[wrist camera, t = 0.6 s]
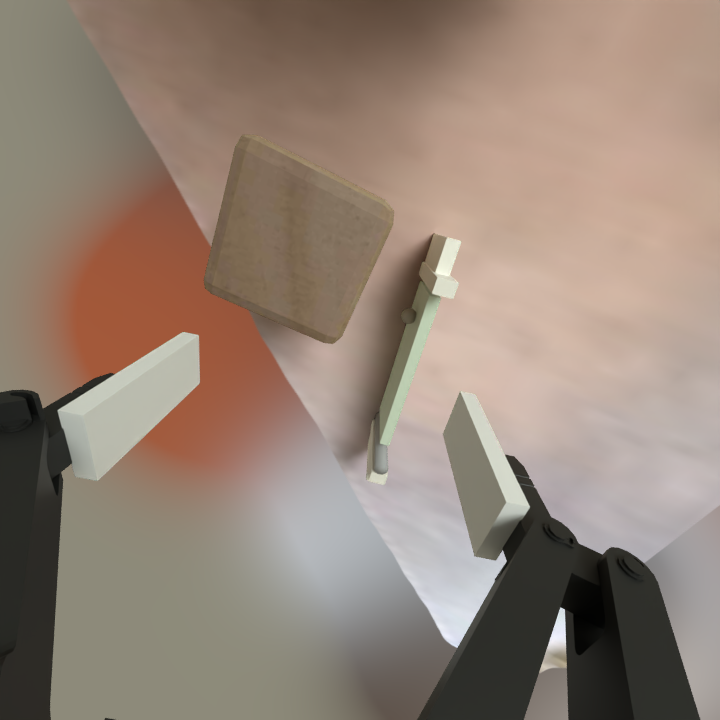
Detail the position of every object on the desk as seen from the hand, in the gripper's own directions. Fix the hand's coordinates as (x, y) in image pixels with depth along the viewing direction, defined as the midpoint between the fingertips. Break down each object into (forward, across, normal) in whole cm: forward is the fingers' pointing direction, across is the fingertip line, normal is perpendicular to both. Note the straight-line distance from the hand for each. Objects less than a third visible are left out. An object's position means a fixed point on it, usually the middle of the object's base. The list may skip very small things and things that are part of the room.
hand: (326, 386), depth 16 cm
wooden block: (+26, -4, +4) cm, 27 cm away
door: (+26, +7, -8) cm, 28 cm away
